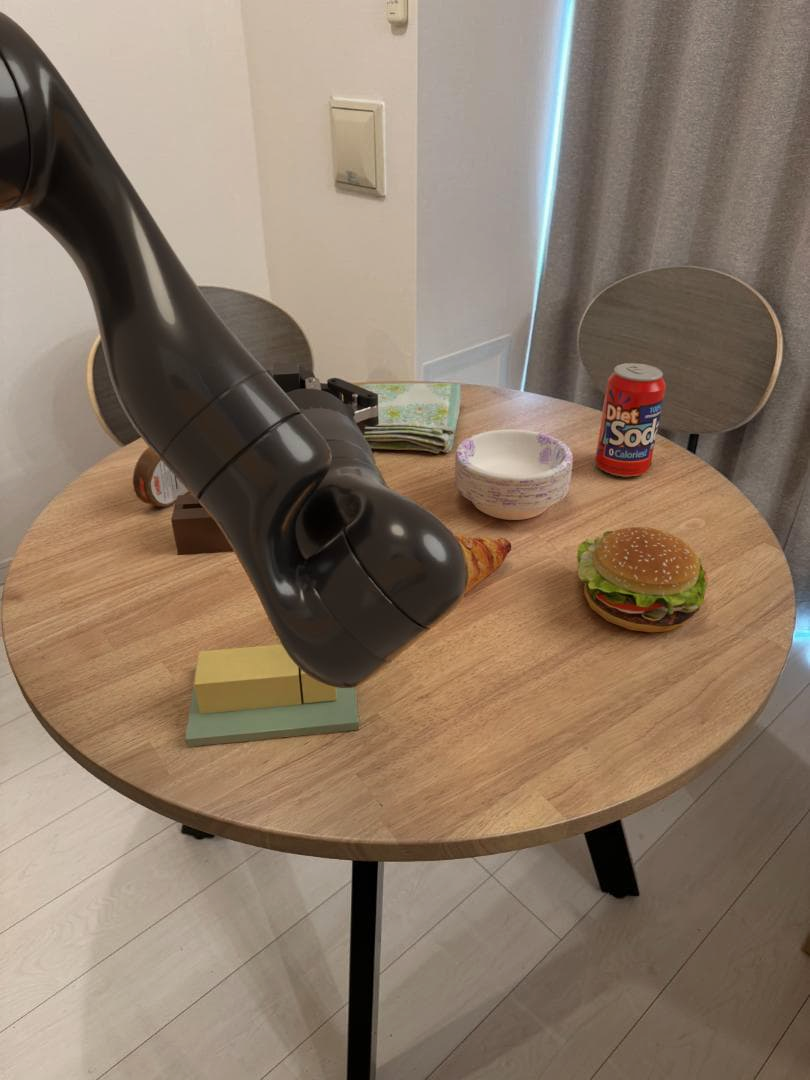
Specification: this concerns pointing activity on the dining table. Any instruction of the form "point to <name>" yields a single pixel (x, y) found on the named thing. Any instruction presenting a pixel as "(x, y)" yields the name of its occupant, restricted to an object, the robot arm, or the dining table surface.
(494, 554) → the croissant
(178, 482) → the tin
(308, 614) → the robot arm
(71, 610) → the dining table surface
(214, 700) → the butter
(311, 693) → the butter slice
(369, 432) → the towel
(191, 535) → the stand
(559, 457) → the paper bowls
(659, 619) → the food
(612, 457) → the soda can
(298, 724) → the butter dish
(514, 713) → the dining table surface
